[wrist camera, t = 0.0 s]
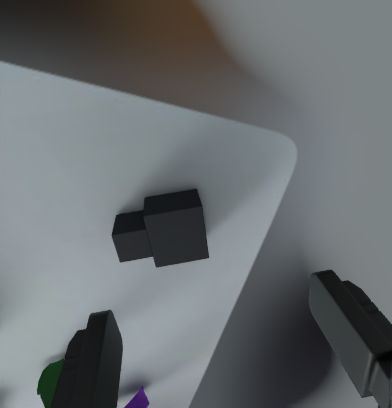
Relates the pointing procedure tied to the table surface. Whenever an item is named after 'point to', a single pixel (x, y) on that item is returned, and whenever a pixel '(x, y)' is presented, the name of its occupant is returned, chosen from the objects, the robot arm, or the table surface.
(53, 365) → the flower
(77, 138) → the table surface
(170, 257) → the small pad
